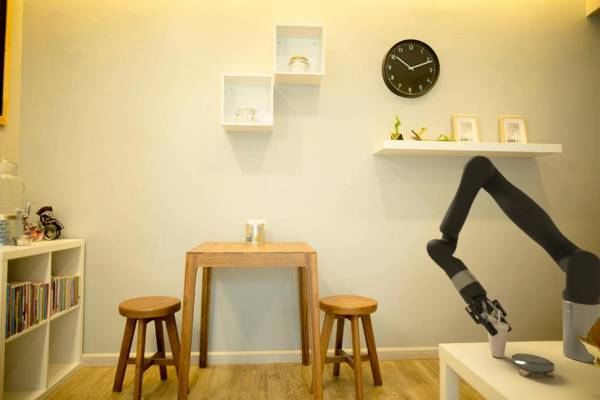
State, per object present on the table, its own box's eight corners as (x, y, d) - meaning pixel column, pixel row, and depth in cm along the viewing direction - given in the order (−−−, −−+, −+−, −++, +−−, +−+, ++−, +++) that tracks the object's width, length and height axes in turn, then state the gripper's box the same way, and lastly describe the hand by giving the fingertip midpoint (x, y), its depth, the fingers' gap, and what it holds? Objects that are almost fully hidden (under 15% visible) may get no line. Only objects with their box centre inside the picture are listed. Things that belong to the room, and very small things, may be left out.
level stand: (512, 361, 106) (512, 350, 106) (553, 369, 101) (553, 358, 101) (511, 374, 98) (511, 363, 98) (555, 384, 92) (555, 372, 93)
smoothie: (512, 360, 106) (512, 313, 107) (489, 358, 108) (489, 312, 108) (504, 351, 113) (504, 307, 113) (483, 350, 114) (482, 306, 114)
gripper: (460, 282, 114) (495, 330, 103) (489, 278, 121) (525, 323, 110) (447, 295, 119) (479, 342, 108) (475, 290, 125) (508, 335, 114)
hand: (502, 332), depth 109 cm, fingers closed on smoothie, 6 cm apart
